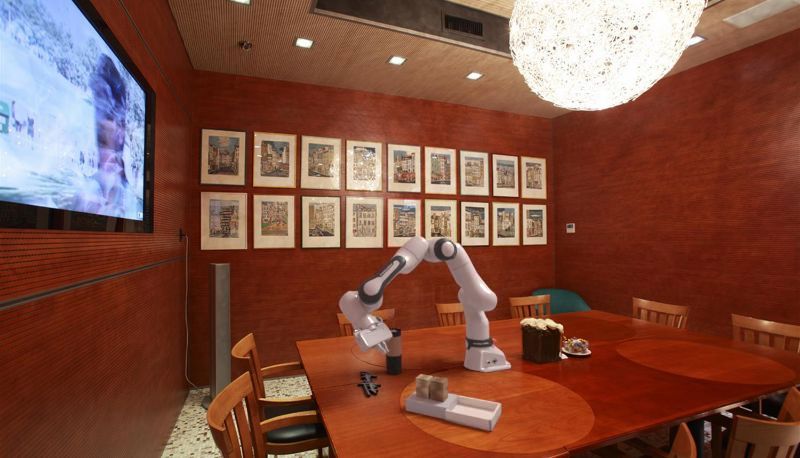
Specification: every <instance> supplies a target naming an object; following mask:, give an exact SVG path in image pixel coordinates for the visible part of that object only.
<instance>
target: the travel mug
mask: <svg viewBox="0 0 800 458" xmlns="http://www.w3.org/2000/svg"><path fill="white" fill-rule="evenodd" d="M389 330H390V331H391V333H392V336H393V337H392V338H391V339H390V340H389V341H387V342H385V343H386V346H387V349H388V350H389V352H388V353H387V354H385V363H386V364H385V368H386V374H388V375H389V376H397V375H400V374H402V368H403V367H402V366H403V364H402V361H403V358H402V357H403V351H402V329H401V328H397V327H392V328H391V329H389Z"/></svg>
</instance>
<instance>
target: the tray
mask: <svg viewBox="0 0 800 458" xmlns="http://www.w3.org/2000/svg"><path fill="white" fill-rule="evenodd" d="M502 410H503V409H502V403H500V402H496V401H490V400H486V399H480V398H476V397H469V396H464V395H460V394H458V404H457V406H456V407H455V408H454V409H453V410H452V411H450V410H445V419H444V420H445V422H449V423H453V424H458V425H461V426H467V427H470V428H475V429H480V430H484V431H489V432H492V431H493V430H494V428H495V426H496V424H497V423H498V420H499V419H500V417H501V415H502V413H503V411H502Z"/></svg>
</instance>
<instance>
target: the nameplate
mask: <svg viewBox="0 0 800 458" xmlns="http://www.w3.org/2000/svg"><path fill="white" fill-rule="evenodd" d="M360 377H361V380H362V381H363V382H359V383H357V387H358V388H361V387H362V388H363V390H364V392H365V393H364V394H366V398H367V399H368V398H371V395H373V396H376V397H377V396H378V393H379V389H378V388H381V387H382V384H381V383H378V382H377V383H376V382H373V379H374V380H377V378H378V376H377V375H376V374H374V373H373V372H369V371H366V370H362V371H360Z"/></svg>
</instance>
